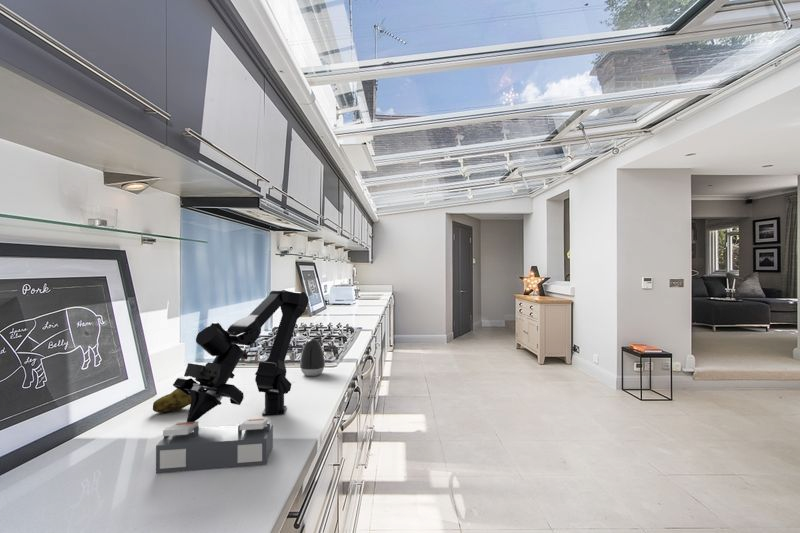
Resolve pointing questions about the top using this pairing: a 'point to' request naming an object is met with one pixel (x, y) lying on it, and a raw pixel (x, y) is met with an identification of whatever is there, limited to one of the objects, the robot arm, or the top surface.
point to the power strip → (214, 449)
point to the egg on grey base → (312, 358)
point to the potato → (172, 402)
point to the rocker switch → (253, 424)
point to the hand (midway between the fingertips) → (188, 423)
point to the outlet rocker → (180, 428)
